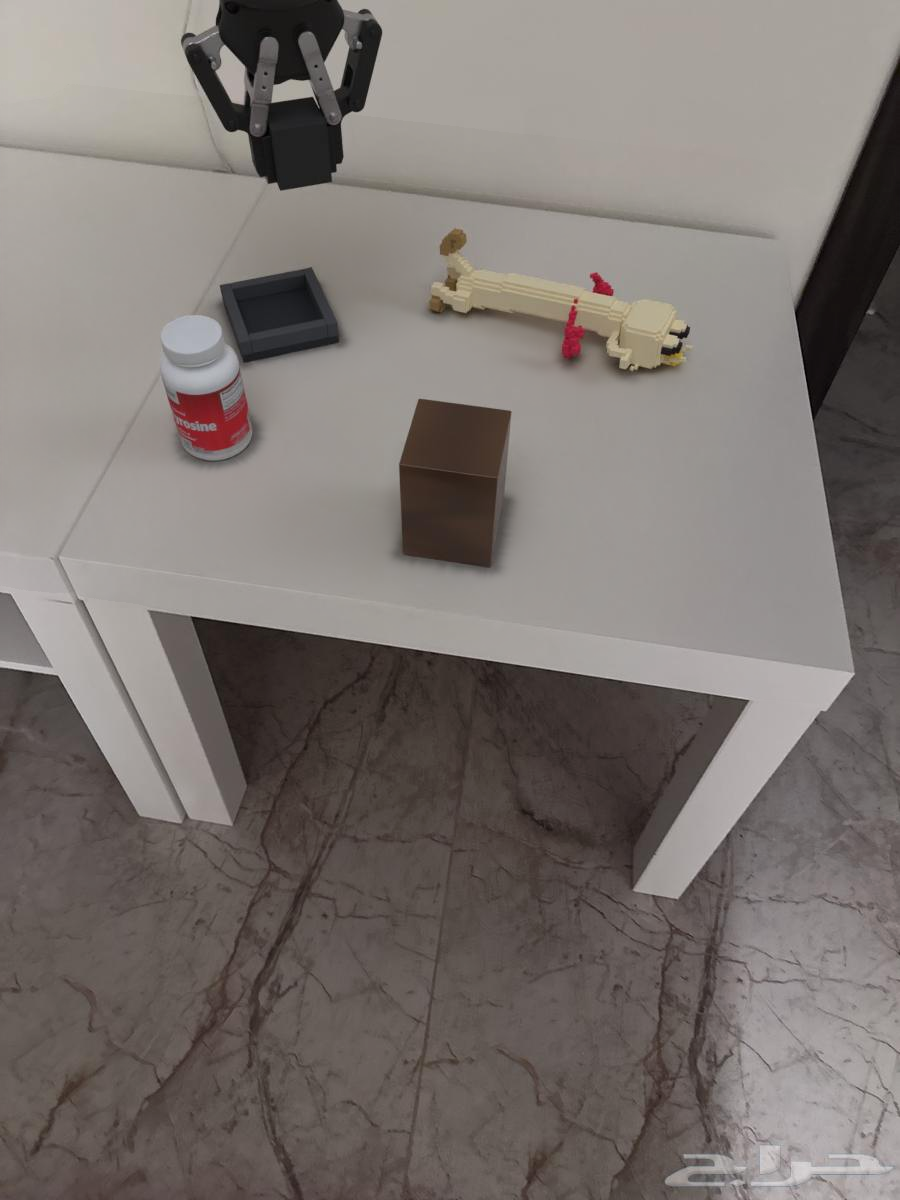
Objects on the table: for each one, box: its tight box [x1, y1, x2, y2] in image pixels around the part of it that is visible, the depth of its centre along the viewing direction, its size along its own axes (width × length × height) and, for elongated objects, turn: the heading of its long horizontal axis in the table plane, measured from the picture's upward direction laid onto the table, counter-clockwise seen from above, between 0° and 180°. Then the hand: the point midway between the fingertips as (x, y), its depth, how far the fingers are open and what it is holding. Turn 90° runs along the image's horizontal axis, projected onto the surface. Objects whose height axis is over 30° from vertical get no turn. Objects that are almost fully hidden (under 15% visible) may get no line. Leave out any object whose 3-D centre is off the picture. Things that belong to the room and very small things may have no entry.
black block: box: [267, 96, 333, 192], centre depth 68 cm, size 4×4×4 cm
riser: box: [398, 398, 513, 568], centre depth 70 cm, size 7×7×10 cm
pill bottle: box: [159, 314, 253, 462], centre depth 76 cm, size 6×6×11 cm
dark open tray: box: [219, 266, 340, 363], centre depth 89 cm, size 9×9×2 cm
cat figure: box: [428, 227, 693, 372], centre depth 86 cm, size 10×9×25 cm
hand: (299, 172), depth 70 cm, fingers closed on black block, 4 cm apart
